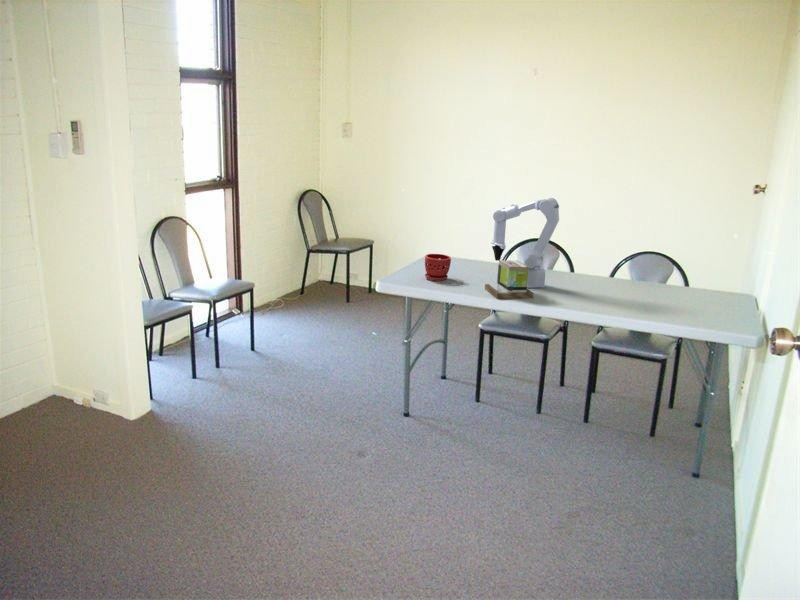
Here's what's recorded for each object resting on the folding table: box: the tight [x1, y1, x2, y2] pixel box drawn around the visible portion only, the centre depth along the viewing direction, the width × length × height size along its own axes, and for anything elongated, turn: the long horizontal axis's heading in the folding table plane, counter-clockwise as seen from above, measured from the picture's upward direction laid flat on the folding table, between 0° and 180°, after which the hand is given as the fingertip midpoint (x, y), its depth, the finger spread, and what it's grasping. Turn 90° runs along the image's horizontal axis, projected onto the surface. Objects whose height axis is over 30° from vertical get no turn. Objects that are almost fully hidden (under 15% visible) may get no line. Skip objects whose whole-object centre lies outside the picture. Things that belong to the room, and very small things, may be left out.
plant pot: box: [424, 253, 452, 282], centre depth 342 cm, size 13×13×12 cm
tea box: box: [496, 259, 529, 293], centre depth 318 cm, size 15×10×15 cm
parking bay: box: [484, 283, 534, 300], centre depth 319 cm, size 18×18×2 cm
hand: (497, 260), depth 342 cm, fingers closed
